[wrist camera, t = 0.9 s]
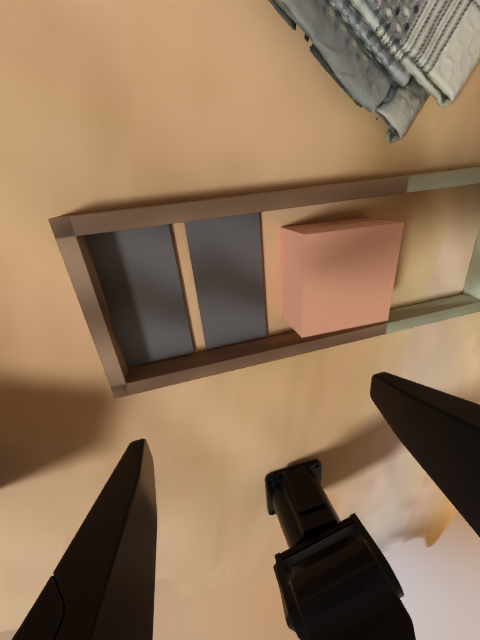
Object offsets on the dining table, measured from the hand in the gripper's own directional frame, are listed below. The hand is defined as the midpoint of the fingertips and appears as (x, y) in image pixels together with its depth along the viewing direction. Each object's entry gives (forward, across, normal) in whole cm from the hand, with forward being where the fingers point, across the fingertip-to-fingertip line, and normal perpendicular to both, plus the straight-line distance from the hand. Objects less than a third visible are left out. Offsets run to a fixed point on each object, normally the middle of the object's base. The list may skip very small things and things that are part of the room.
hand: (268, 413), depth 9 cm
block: (+13, -9, 0) cm, 16 cm away
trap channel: (+13, -9, 0) cm, 16 cm away
